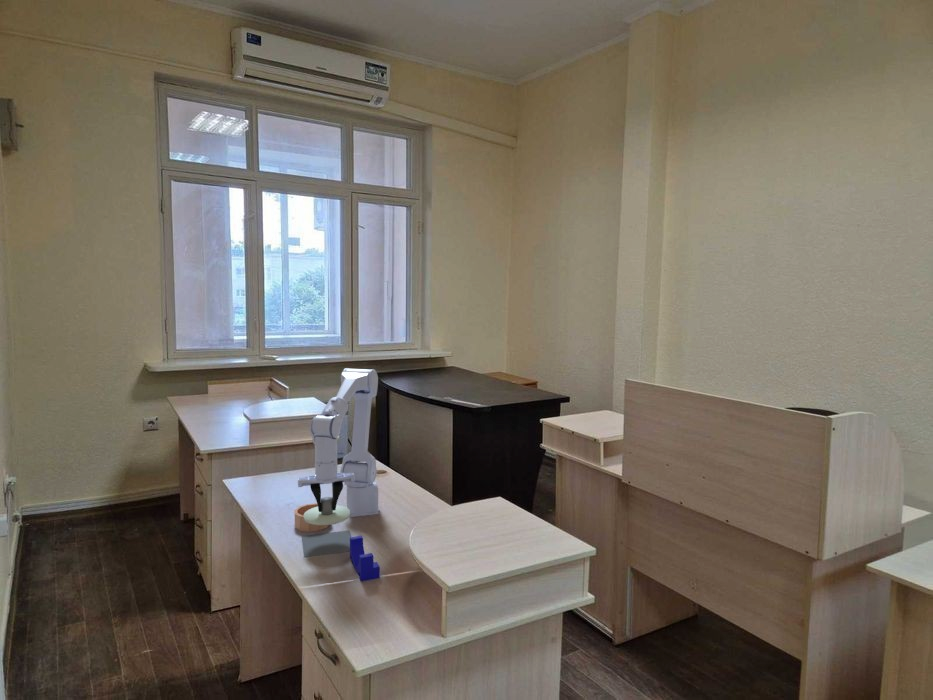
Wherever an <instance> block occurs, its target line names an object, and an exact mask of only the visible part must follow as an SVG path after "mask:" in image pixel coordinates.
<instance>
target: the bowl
mask: <svg viewBox="0 0 933 700" xmlns="http://www.w3.org/2000/svg"><path fill="white" fill-rule="evenodd" d="M314 507H318V504H317V502H316V503H315V502H314V503H307V504H303V505H300V506H297V507H296V508H295V509H294V528H295V529H297V530H298V531H302V532H308V533H309V532H317V531H321V530H325V529H326V528H329V526H330V525H313V524H309V523H307V522H306V521H305V520H304V513H305V512H306V511H307V510H309V509H311V508H314Z"/></svg>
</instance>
